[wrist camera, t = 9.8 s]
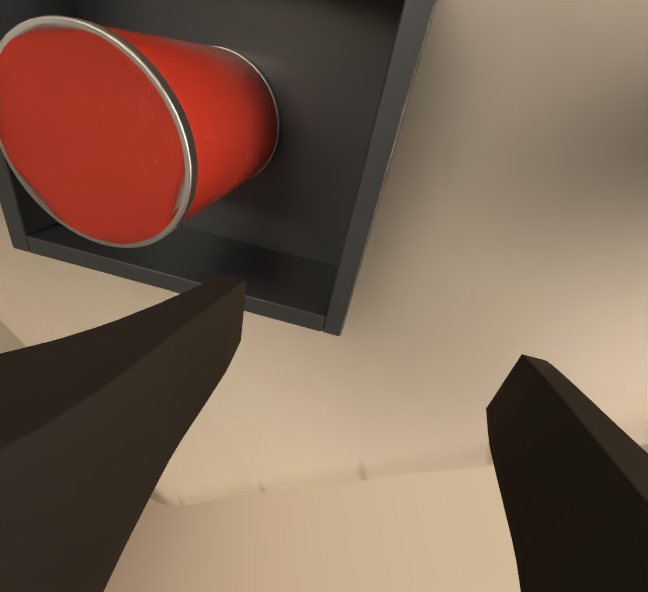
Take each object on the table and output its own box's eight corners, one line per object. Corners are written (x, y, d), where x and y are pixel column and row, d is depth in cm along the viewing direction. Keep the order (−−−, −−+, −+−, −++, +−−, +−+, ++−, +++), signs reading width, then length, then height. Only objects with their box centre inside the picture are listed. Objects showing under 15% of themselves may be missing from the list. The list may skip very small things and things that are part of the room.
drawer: (440, -29, 13) (461, -86, 8) (353, 279, 19) (340, 337, 15) (48, -115, 13) (-121, -210, 9) (96, 211, 20) (12, 248, 16)
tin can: (290, 62, 14) (191, 46, 7) (273, 194, 17) (191, 268, 10) (162, 32, 14) (-46, -11, 8) (166, 166, 17) (17, 222, 11)
